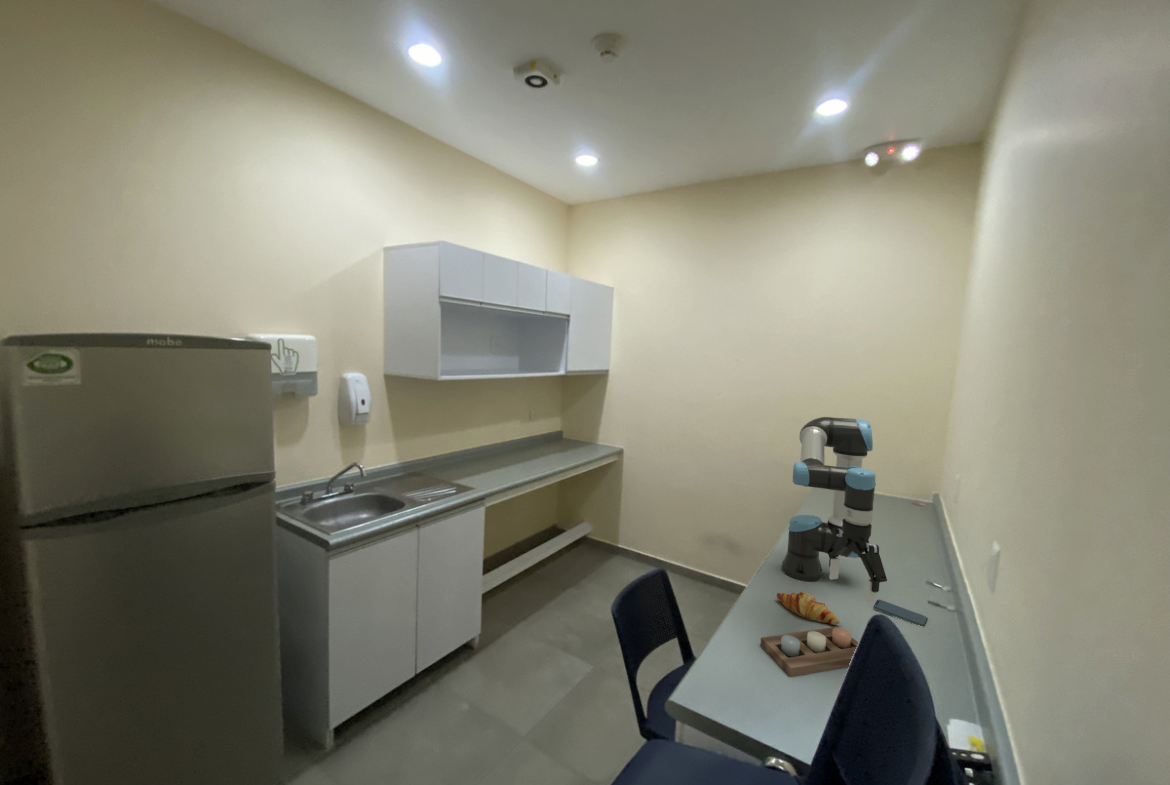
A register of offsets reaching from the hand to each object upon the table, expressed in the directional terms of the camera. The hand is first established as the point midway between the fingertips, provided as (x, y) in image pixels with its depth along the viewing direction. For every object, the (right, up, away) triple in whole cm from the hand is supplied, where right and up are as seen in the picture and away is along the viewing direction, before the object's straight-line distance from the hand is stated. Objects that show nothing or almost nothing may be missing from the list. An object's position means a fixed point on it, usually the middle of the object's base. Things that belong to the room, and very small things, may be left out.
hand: (851, 589), depth 140 cm
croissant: (-4, -18, +21) cm, 28 cm away
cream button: (-11, -17, 0) cm, 20 cm away
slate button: (-20, -17, -3) cm, 26 cm away
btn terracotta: (-2, -17, +2) cm, 17 cm away
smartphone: (+29, -19, +22) cm, 41 cm away
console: (-11, -19, 0) cm, 22 cm away
